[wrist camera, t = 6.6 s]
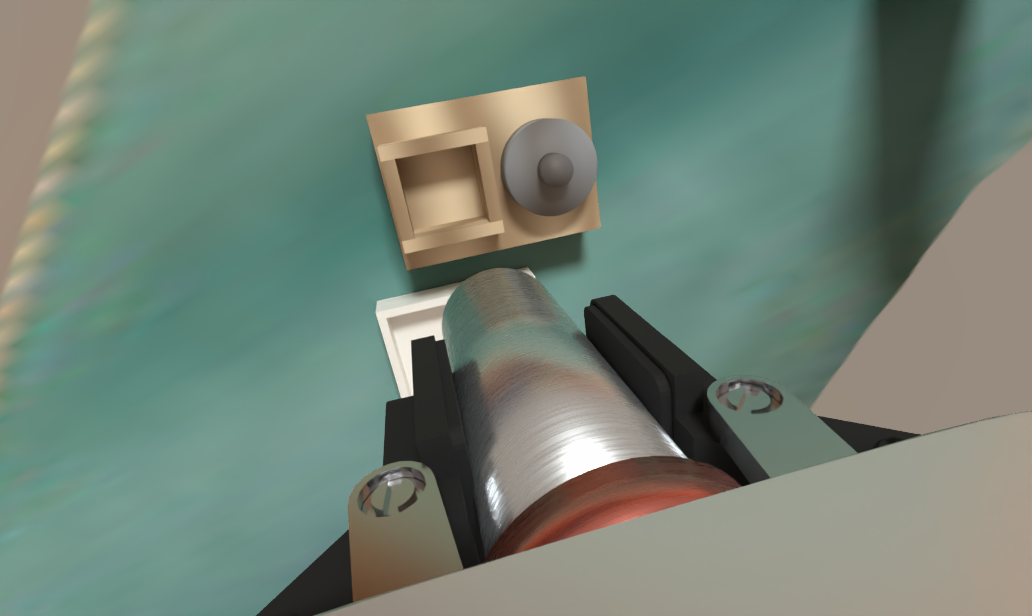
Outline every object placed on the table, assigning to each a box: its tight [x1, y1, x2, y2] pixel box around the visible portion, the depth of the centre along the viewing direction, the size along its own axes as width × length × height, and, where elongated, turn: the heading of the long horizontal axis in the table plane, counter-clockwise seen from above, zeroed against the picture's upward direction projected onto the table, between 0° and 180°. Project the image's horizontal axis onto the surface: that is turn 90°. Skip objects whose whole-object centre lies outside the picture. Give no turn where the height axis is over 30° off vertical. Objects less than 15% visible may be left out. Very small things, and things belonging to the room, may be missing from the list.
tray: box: [376, 267, 535, 398], centre depth 40 cm, size 12×12×2 cm
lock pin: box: [442, 268, 742, 563], centre depth 10 cm, size 4×4×10 cm
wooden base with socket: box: [366, 76, 601, 270], centre depth 33 cm, size 14×10×7 cm
